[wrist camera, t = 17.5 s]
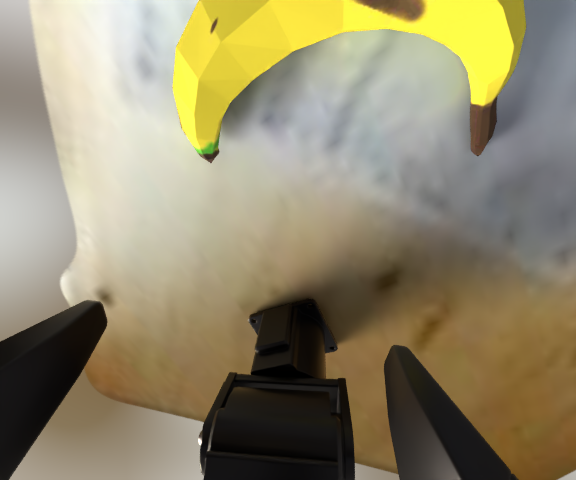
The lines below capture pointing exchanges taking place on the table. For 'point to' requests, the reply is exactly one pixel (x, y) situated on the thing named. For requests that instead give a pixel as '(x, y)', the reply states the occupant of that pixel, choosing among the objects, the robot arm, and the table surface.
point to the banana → (323, 24)
